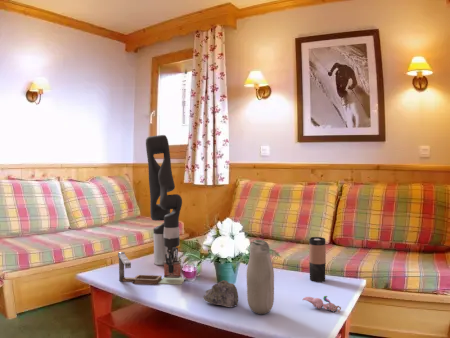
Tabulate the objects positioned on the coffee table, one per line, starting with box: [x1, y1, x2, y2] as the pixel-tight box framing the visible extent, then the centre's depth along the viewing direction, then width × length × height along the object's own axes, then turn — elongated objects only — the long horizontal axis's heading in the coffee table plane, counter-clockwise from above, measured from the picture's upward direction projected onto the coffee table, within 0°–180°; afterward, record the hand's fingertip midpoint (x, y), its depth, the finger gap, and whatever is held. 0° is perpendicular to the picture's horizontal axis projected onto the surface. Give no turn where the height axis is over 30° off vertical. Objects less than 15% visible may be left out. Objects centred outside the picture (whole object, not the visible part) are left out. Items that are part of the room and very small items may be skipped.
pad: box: [158, 276, 185, 286], centre depth 196 cm, size 9×11×1 cm
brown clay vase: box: [246, 239, 275, 315], centre depth 156 cm, size 10×10×28 cm
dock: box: [118, 257, 163, 285], centre depth 197 cm, size 7×20×11 cm, turn 80°
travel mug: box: [308, 236, 327, 283], centre depth 195 cm, size 8×8×20 cm
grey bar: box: [117, 251, 132, 270], centre depth 190 cm, size 3×21×3 cm, turn 23°
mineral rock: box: [202, 280, 239, 308], centre depth 166 cm, size 13×11×10 cm
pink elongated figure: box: [302, 295, 342, 312], centre depth 160 cm, size 6×6×15 cm
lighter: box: [163, 257, 181, 278], centre depth 196 cm, size 8×3×10 cm, turn 84°
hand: (172, 271), depth 196 cm, fingers closed on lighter, 3 cm apart
